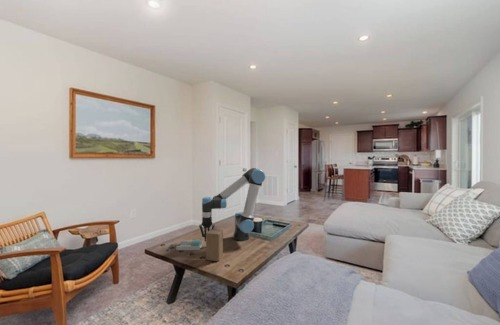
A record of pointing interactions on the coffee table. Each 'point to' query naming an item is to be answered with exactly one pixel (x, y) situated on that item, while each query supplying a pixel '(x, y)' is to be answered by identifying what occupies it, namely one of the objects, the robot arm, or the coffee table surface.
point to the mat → (169, 247)
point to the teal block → (196, 242)
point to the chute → (188, 246)
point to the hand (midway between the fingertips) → (207, 245)
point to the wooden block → (214, 244)
